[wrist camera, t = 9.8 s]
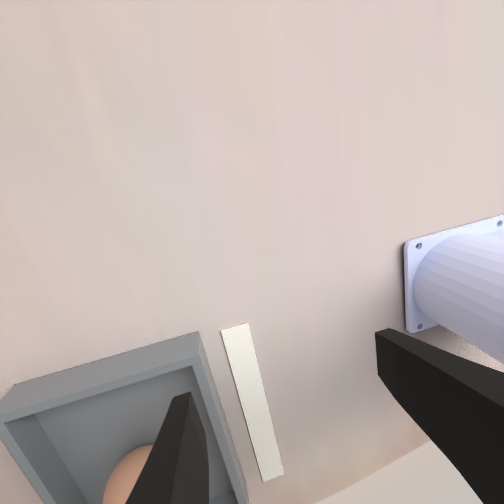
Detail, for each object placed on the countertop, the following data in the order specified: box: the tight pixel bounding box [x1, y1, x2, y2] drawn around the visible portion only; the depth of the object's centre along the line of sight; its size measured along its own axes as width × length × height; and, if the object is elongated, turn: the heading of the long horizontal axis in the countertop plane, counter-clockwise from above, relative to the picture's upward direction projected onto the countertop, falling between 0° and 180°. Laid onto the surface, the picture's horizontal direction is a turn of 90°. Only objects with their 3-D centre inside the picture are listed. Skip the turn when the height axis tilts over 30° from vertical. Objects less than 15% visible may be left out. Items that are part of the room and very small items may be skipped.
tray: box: [0, 331, 249, 504], centre depth 20 cm, size 12×16×3 cm
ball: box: [102, 445, 153, 504], centre depth 18 cm, size 5×5×5 cm
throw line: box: [221, 323, 284, 482], centre depth 22 cm, size 2×16×1 cm, turn 12°
